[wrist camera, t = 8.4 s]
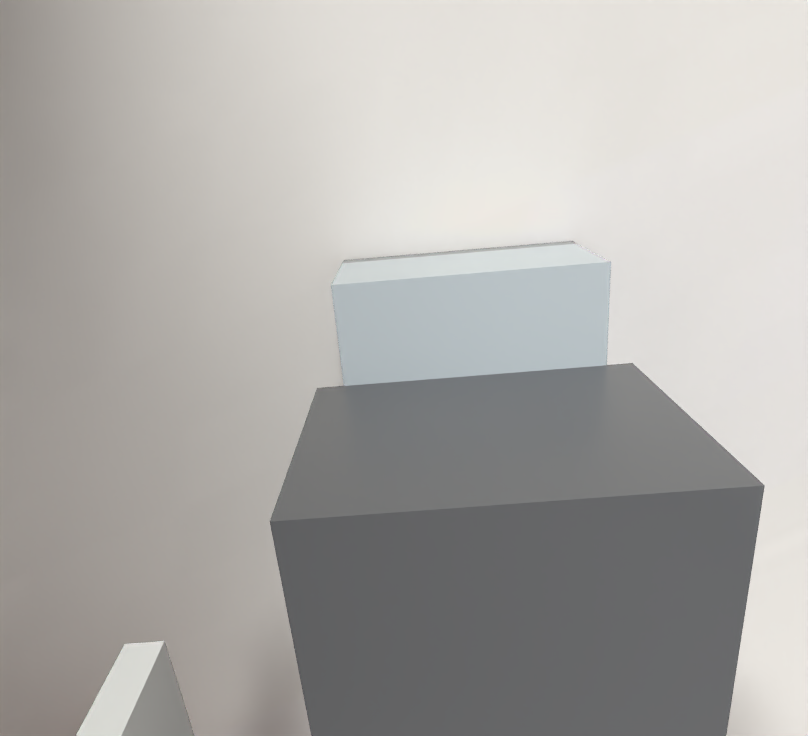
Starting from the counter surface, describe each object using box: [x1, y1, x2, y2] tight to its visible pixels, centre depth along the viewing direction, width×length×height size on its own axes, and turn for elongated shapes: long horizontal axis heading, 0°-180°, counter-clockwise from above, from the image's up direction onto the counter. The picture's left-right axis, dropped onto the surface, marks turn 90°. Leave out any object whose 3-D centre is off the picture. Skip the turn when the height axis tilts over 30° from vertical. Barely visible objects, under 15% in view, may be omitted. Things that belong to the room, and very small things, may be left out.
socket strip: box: [331, 241, 611, 386], centre depth 20 cm, size 26×7×4 cm, turn 5°
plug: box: [270, 363, 764, 736], centre depth 15 cm, size 9×8×8 cm
